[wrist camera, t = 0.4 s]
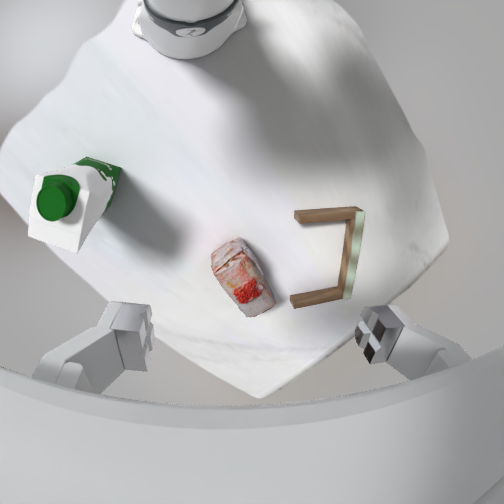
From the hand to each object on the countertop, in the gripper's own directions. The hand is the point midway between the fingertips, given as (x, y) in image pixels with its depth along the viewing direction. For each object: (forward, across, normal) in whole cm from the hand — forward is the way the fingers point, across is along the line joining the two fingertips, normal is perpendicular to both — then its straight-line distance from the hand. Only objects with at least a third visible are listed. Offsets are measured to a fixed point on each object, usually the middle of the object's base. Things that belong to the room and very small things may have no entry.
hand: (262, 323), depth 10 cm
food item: (+41, -4, +18) cm, 45 cm away
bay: (+42, -22, +15) cm, 50 cm away
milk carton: (+37, +22, +1) cm, 43 cm away
